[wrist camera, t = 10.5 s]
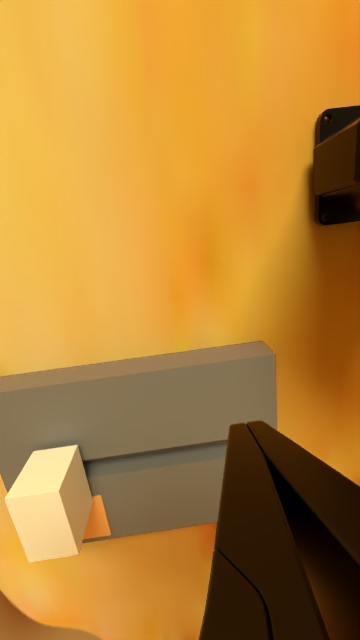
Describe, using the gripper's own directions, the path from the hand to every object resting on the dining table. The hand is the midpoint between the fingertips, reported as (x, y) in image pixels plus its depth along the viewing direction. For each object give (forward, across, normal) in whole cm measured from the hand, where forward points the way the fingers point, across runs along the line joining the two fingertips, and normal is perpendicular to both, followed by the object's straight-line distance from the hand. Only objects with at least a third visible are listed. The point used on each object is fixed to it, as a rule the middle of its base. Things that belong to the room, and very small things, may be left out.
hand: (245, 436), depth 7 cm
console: (+13, +5, +10) cm, 17 cm away
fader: (+12, +11, +10) cm, 19 cm away
